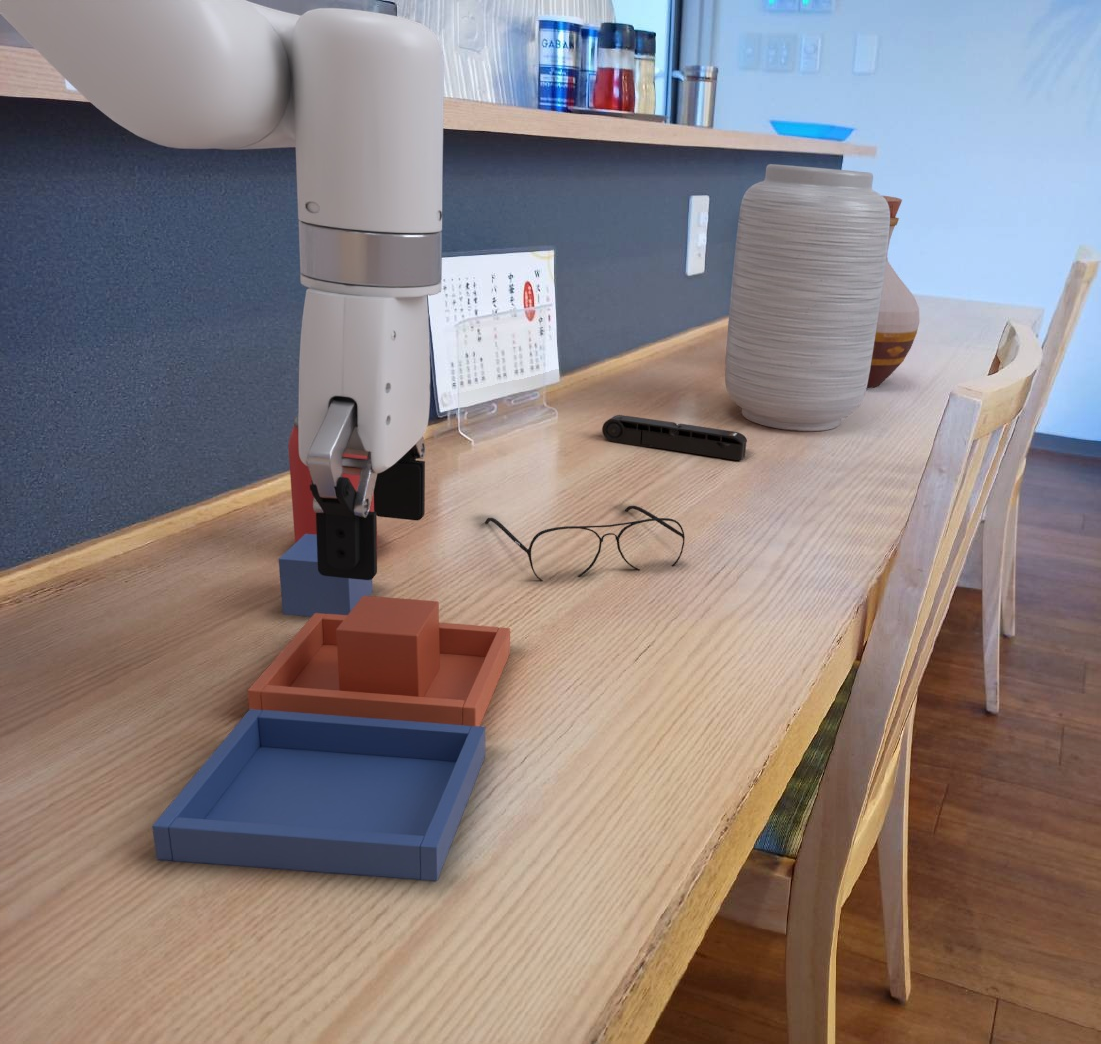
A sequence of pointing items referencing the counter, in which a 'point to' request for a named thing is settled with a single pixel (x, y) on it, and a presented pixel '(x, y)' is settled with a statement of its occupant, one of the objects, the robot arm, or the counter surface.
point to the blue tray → (326, 796)
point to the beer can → (308, 488)
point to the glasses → (654, 518)
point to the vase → (805, 296)
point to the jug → (893, 317)
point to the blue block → (315, 584)
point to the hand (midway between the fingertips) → (375, 544)
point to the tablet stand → (675, 437)
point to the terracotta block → (389, 646)
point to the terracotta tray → (453, 697)
